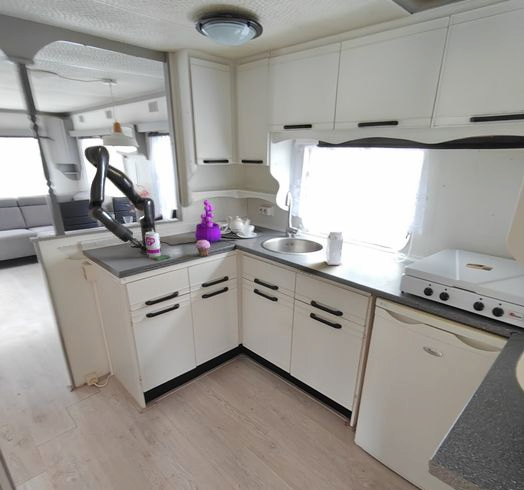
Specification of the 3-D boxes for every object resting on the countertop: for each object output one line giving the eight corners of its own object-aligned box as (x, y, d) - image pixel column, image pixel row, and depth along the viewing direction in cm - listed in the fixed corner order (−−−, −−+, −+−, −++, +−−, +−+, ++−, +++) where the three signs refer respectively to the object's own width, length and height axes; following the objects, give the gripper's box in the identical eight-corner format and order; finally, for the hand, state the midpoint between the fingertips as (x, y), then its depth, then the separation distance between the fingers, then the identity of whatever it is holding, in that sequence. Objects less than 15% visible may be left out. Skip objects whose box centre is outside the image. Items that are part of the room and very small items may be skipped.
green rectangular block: (166, 256, 203) (165, 254, 202) (169, 257, 201) (168, 255, 200) (154, 259, 198) (154, 257, 197) (157, 260, 195) (157, 258, 195)
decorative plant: (202, 237, 249) (200, 197, 237) (225, 239, 244) (223, 198, 233) (191, 243, 232) (187, 201, 220) (215, 246, 227) (213, 202, 216)
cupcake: (200, 258, 201) (199, 242, 197) (194, 254, 207) (193, 239, 204) (212, 255, 206) (212, 240, 202) (206, 252, 212) (205, 237, 208)
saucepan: (162, 250, 216) (161, 244, 214) (153, 254, 206) (152, 249, 204) (136, 248, 220) (135, 242, 219) (126, 252, 210) (125, 246, 209)
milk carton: (325, 261, 199) (328, 230, 192) (336, 261, 199) (339, 230, 192) (328, 265, 192) (331, 233, 185) (340, 264, 193) (343, 233, 186)
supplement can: (156, 258, 198) (154, 234, 193) (144, 257, 200) (141, 233, 194) (163, 255, 206) (161, 231, 200) (152, 254, 207) (149, 230, 202)
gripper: (129, 229, 183) (153, 247, 194) (123, 225, 193) (146, 243, 204) (120, 239, 182) (145, 257, 193) (115, 235, 192) (138, 252, 203)
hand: (145, 250), depth 199 cm, fingers closed
